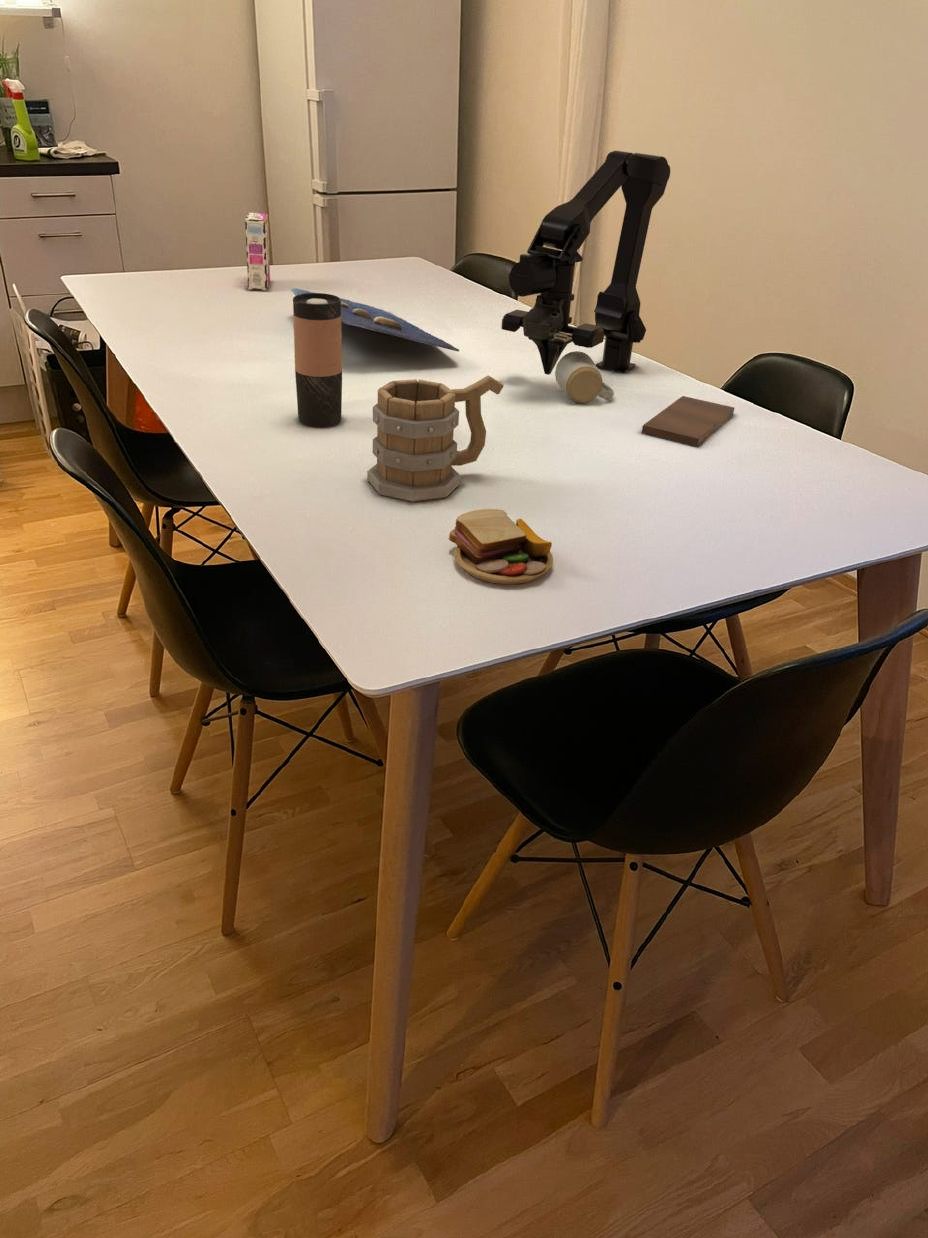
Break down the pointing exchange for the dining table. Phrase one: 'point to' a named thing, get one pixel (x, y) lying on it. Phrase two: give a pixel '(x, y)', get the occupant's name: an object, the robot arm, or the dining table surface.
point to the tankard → (424, 437)
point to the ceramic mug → (581, 378)
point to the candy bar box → (257, 251)
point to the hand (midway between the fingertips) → (547, 373)
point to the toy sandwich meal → (499, 548)
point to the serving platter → (382, 322)
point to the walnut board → (688, 421)
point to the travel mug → (318, 358)
